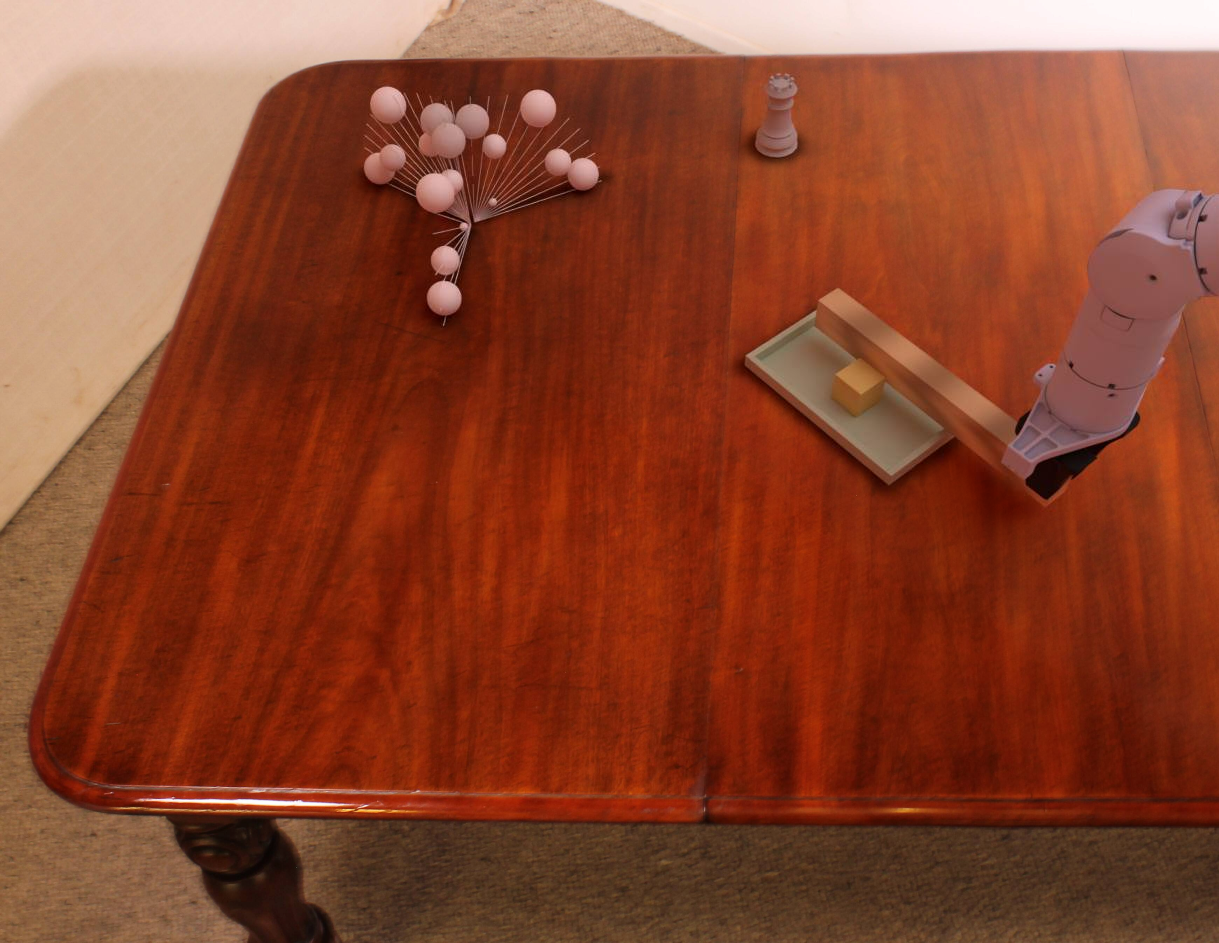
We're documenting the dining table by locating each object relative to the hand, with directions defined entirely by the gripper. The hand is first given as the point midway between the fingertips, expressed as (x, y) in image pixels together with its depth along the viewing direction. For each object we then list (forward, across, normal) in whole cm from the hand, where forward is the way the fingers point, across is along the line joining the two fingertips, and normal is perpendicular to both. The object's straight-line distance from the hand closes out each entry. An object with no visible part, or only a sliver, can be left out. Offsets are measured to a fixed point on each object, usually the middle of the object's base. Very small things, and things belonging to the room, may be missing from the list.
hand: (1051, 479), depth 82 cm
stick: (+2, 0, -12) cm, 12 cm away
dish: (+4, +2, -18) cm, 18 cm away
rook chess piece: (+4, -16, -47) cm, 50 cm away
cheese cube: (+4, +3, -17) cm, 18 cm away
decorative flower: (+4, +17, -56) cm, 59 cm away
